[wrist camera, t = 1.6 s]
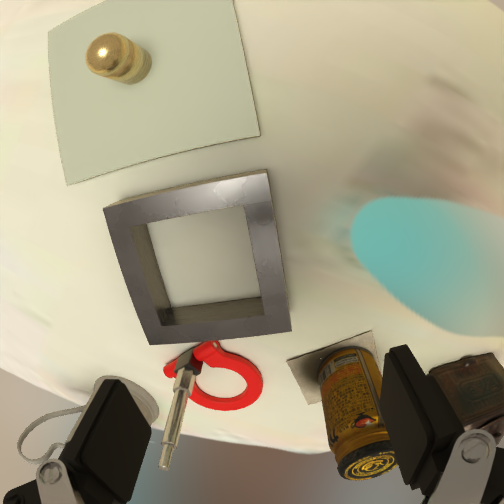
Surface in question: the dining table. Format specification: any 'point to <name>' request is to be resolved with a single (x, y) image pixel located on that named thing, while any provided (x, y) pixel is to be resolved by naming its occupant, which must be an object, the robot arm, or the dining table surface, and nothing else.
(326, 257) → the dining table surface
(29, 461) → the glass holder
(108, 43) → the post
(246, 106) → the plate
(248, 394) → the tow hook
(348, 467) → the condiment
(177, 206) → the square metal frame
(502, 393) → the manual coffee grinder
